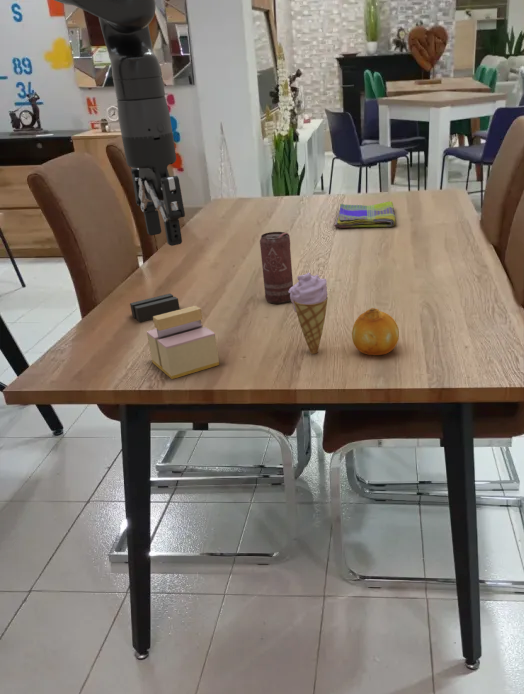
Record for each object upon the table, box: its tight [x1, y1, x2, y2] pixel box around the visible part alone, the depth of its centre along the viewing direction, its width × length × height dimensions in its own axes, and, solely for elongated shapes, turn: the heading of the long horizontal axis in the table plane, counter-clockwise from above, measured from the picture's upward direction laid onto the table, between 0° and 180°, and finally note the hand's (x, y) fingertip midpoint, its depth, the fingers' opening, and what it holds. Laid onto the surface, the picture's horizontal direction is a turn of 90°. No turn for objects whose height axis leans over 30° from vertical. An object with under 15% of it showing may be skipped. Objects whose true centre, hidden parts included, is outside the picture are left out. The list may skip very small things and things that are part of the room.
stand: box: [129, 293, 181, 323], centre depth 145 cm, size 9×4×3 cm, turn 123°
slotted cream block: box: [146, 323, 220, 380], centre depth 121 cm, size 9×9×6 cm
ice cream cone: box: [288, 271, 328, 355], centre depth 120 cm, size 7×6×15 cm
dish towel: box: [334, 201, 396, 229], centre depth 206 cm, size 18×24×3 cm
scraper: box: [152, 305, 203, 339], centre depth 120 cm, size 8×2×9 cm, turn 124°
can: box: [259, 231, 294, 305], centre depth 146 cm, size 6×6×14 cm
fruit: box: [351, 307, 400, 356], centre depth 121 cm, size 8×8×8 cm
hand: (164, 239), depth 111 cm, fingers open, 8 cm apart
